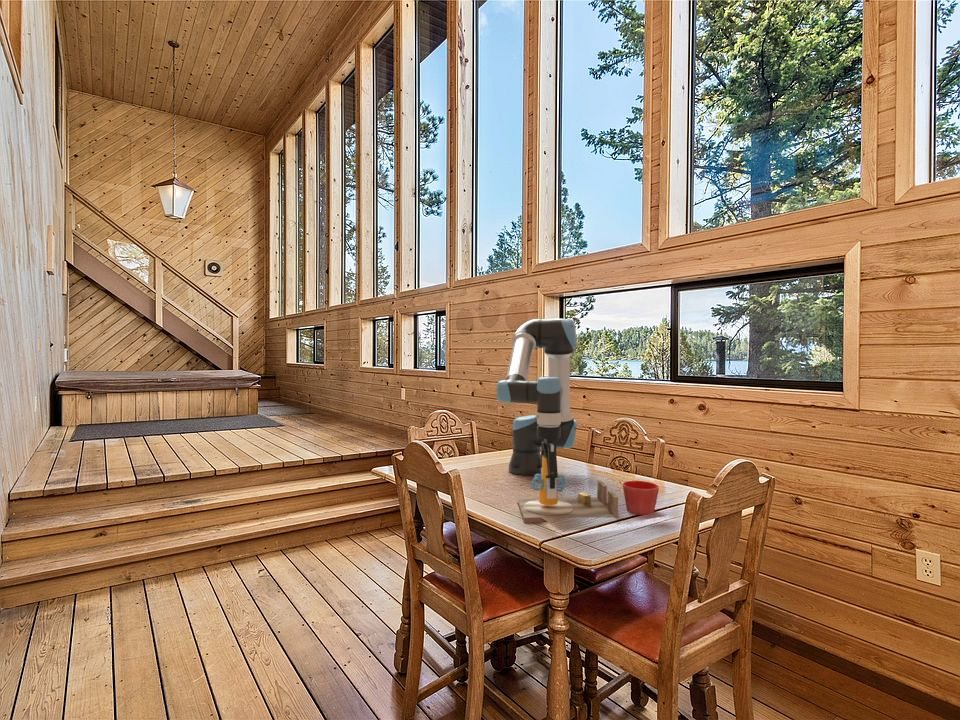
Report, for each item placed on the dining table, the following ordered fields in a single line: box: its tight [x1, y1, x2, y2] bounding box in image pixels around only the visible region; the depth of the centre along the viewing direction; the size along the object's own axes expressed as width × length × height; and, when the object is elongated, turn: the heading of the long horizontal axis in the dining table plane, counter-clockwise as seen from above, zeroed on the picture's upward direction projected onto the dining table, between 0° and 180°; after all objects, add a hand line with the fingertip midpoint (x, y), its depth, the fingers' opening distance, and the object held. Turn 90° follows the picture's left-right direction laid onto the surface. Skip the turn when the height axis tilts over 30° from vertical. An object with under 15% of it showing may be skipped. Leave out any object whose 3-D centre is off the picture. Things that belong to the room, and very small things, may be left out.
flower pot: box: [622, 480, 660, 519], centre depth 167 cm, size 11×11×10 cm
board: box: [516, 479, 620, 524], centre depth 170 cm, size 20×29×8 cm
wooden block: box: [577, 491, 592, 505], centre depth 174 cm, size 4×2×3 cm, turn 22°
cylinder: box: [531, 455, 566, 505], centre depth 170 cm, size 12×10×15 cm
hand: (548, 492), depth 170 cm, fingers closed on cylinder, 12 cm apart
